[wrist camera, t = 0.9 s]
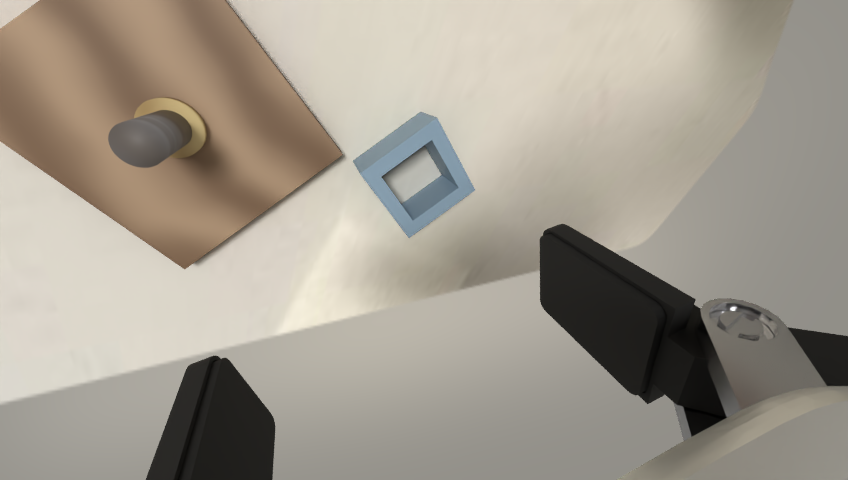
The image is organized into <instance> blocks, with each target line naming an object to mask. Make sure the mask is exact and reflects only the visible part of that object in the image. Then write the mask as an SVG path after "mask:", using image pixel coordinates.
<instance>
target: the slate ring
mask: <svg viewBox="0 0 848 480" xmlns="http://www.w3.org/2000/svg"><path fill="white" fill-rule="evenodd" d="M424 145H425V147H426V149H427V150H428V152H429V154H430V155H431V157H432V159H433V161H434V162H435V164H436V166H437V167H438V169H439V171H440V173H441V174H442V175H441V176H440V177H439V178H437V179H436V180H434V181H433V182H432V183H430V184H429V185H428V186H426V187H425V188H423V189H422V190H421V191H419V192H418V193H416V194H415V195H414V196H412V197H411V198H410V199H408V200H407V201H405V202H404V203H403V204H400V202H399V201H398V199H397V198H396V197H395V195H394V194H393V192H392V191H391V190H390V188H389V187H388V185H387V184H386V183H385V181H384V180H383V178H382V177H381V176H383V175H384V174H385V173H387V172H388V171H390V170H391V169H392V168H394V167H395V166H396V165H398V164H399V163H401V162H402V161H403V160H405V159H406V158H408V157H409V156H410V155H412V154H413V153H414V152H416V151H417V150H419V149H420V148H421V147H423V146H424ZM353 162H354V164H355V166H356V167H357V169H358V171H359V173H360V174H361V176H362V177H363V178H364V179H365V181H366V182H367V183H368V185H369V186H370V187H371V189H372V190H373V191H374V193H375V194H376V195H377V197H378V198H379V199H380V201H381V202H382V203H383V204H384V206H385V207H386V208H387V210H388V211H389V212H390V214H391V215H392V216H393V218H394V219H395V220H396V222H397V223H398V224H399V226H400V227H401V228H402V230H403V231H404V232H405V233H406V235H407V236H408V237H409V238H410V237H411V236H412V235H414V234H415V233H417V232H418V231H419V230H421V229H422V228H424V227H425V226H426V225H428V224H429V223H430V222H432V221H433V220H435V219H436V218H437V217H439V216H440V215H441V214H443V213H444V212H446V211H447V210H448V209H450V208H451V207H452V206H454V205H455V204H457V203H458V202H459V201H461V200H462V199H464V198H465V197H466V196H468V195H469V194H470V193H472V192H473V191H475V189H474V187H473V185H472V183H471V181H470V179H469V177H468V176H467V174H466V172H465V170H464V168H463V166H462V164H461V162H460V160H459V158H458V157H457V155H456V153H455V151H454V149H453V147H452V145H451V143H450V141H449V139H448V138H447V136H446V134H445V132H444V130H443V128H442V126H441V124H440V122H439V121H438V119H437V118H436V117H434V116H431V115H428V114H426V113H423V112H420V113H418V114H417V115H416V116H414V117H413V118H411V119H410V120H409V121H407V122H406V123H405V124H403V125H402V126H400V127H399V128H398V129H396V130H395V131H394V132H392V133H391V134H389V135H388V136H387V137H385V138H384V139H382V140H381V141H380V142H378V143H377V144H376V145H374V146H373V147H371V148H370V149H369V150H367V151H366V152H365V153H363V154H362V155H360V156H359V157H358V158H356V159H355V160H353Z"/></svg>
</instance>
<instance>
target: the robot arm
mask: <svg viewBox="0 0 848 480" xmlns="http://www.w3.org/2000/svg"><path fill="white" fill-rule="evenodd" d="M540 302H541V305H542V307H543V308H544V310H545V311H546V312H547V313H548V314H549V315H550V316H551V317H552V318H553V319H554V320H555V321H556V322H557V323H558V324H560V325H561V327H563V328H564V329H565V330H566V331H567V332H568V333H569V334H570V335H571V336H572V337H573V338H574V339H575V340H576V341H577V342H578V343H579V344H580V345H581V346H582V347H583V348H584V349H585V350H586V351H587V352H588V353H589V354H590V355H591V356H592V357H593V358H595V360H597V361H598V362H599V363H600V364H601V365H602V366H603V367H604V368H605V369H606V370H607V371H608V372H609V373H610V374H611V375H612V376H613V377H614V378H615V379H616V380H617V381H618V382H619V383H620V384H621V385H622V386H623V387H624V388H625V389H626V390H627V391H629V392H630V393H631V394H634V395H639V396H640V397H641V398H642V399H643V400H644V401H645V402H646V403H647V404H649V403H651V402H652V401H654V400H656V399H658V398H660V397H662V396H663V395H664V394H665V395H666V396H667V397H669V398H670V399H671V400H672V401H673V402H674V406H675V410H676V413H677V417H678V421H679V425H680V428H681V432H682V436H683V440H684V441H683V442H681V443H680V444H678V445H676V446H674V447H673V448H671V449H669V450H667V451H666V452H664V453H662V454H661V455H659V456H657V457H655V458H654V459H652V460H650V461H648V462H647V463H645V464H643V465H641V466H640V467H638V468H636V469H634V470H633V471H631V472H629V473H627V474H626V475H624V476H622V477H620V478H619V479H617V480H848V336H843V335H836V334H829V333H822V332H815V331H808V330H802V329H794V328H788V327H787V326H786V325H785V324H784V323H783V322H782V321H781V319H780V318H779V317H777V316H776V315H774V314H773V313H771V312H770V311H768V310H766V309H764V308H762V307H760V306H758V305H755V304H752V303H749V302H746V301H742V300H736V299H714V300H710V301H708V302H706V303H705V304H703V306H702V308H701V309H700V308H698V307H697V306H695V305H694V302H695V299H694V298H692V297H691V296H689V295H687V294H685V293H683V292H682V291H680V290H678V289H677V288H675V287H673V286H671V285H670V284H668V283H666V282H665V281H663V280H661V279H659V278H658V277H656V276H654V275H652V274H651V273H649V272H647V271H645V270H644V269H642V268H640V267H639V266H637V265H635V264H633V263H631V262H630V261H628V260H626V259H625V258H623V257H621V256H619V255H618V254H616V253H614V252H613V251H611V250H609V249H607V248H606V247H604V246H602V245H600V244H599V243H597V242H595V241H593V240H592V239H590V238H588V237H587V236H585V235H583V234H581V233H580V232H578V231H576V230H574V229H573V228H571V227H569V226H568V225H565V224H560V225H557V226H554V227H552V228H549V229H547V230H545V231H544V233H543V236H542V237H541V238H540ZM274 440H275V422H274V418H273V416H272V415H271V413H270V412H269V410H268V409H267V408H266V407H265V405H264V404H263V403H262V402H261V400H260V399H259V398H258V396H257V395H256V394H255V393H254V391H253V390H252V389H251V387H250V386H249V385H248V384H247V382H246V381H245V380H244V379H243V377H242V376H241V375H240V373H239V372H238V371H237V370H236V368H235V367H234V366H233V364H232V363H231V362H230V361H229V360H228V359H227V358H222V359H220V358H219V357H218V356H212V357H209V358H206V359H204V360H201V361H199V362H196V363H193V364H191V365H189V366H188V367H187V369H186V372H185V374H184V377H183V380H182V382H181V385H180V388H179V391H178V393H177V396H176V399H175V402H174V404H173V407H172V410H171V412H170V415H169V418H168V421H167V424H166V426H165V429H164V431H163V435H162V437H161V440H160V442H159V445H158V448H157V450H156V453H155V456H154V459H153V462H152V464H151V467H150V470H149V472H148V475H147V478H146V480H272V474H273V458H274Z"/></svg>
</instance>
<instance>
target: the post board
mask: <svg viewBox="0 0 848 480" xmlns="http://www.w3.org/2000/svg"><path fill="white" fill-rule="evenodd" d="M0 141H1V142H2V143H4V144H5V145H6V146H8V147H9V148H11V149H12V150H14V151H15V152H17V153H18V154H19V155H21V156H22V157H24V158H25V159H27V160H28V161H29V162H31V163H32V164H34V165H35V166H37V167H38V168H40V169H41V170H42V171H44V172H45V173H47V174H48V175H50V176H51V177H53V178H54V179H55V180H57V181H58V182H60V183H61V184H63V185H64V186H65V187H67V188H68V189H70V190H71V191H73V192H74V193H76V194H77V195H78V196H80V197H81V198H83V199H84V200H86V201H87V202H89V203H90V204H91V205H93V206H94V207H96V208H97V209H99V210H100V211H101V212H103V213H104V214H106V215H107V216H109V217H110V218H112V219H113V220H114V221H116V222H117V223H119V224H120V225H122V226H123V227H125V228H126V229H127V230H129V231H130V232H132V233H133V234H135V235H136V236H137V237H139V238H140V239H142V240H143V241H145V242H146V243H148V244H149V245H150V246H152V247H153V248H155V249H156V250H158V251H159V252H161V253H162V254H163V255H165V256H166V257H168V258H169V259H171V260H172V261H173V262H175V263H176V264H178V265H179V266H181V267H182V268H184V269H186V268H187V267H189V266H190V265H191V264H193V263H194V262H195V261H197V260H198V259H200V258H201V257H202V256H204V255H205V254H207V253H208V252H209V251H211V250H212V249H213V248H215V247H216V246H218V245H219V244H220V243H222V242H223V241H224V240H226V239H227V238H229V237H230V236H231V235H233V234H234V233H236V232H237V231H238V230H240V229H241V228H242V227H244V226H245V225H247V224H248V223H249V222H251V221H252V220H253V219H255V218H256V217H258V216H259V215H260V214H262V213H263V212H264V211H266V210H267V209H269V208H270V207H271V206H273V205H274V204H276V203H277V202H278V201H280V200H281V199H282V198H284V197H285V196H287V195H288V194H289V193H291V192H292V191H293V190H295V189H296V188H298V187H299V186H300V185H302V184H303V183H305V182H306V181H307V180H309V179H310V178H311V177H313V176H314V175H316V174H317V173H318V172H320V171H321V170H322V169H324V168H325V167H327V166H328V165H329V164H331V163H332V162H333V161H335V160H336V159H338V158H339V157H340V156H342V155H343V154H342V152H341V151H340V149H339V148H338V147H337V145H336V144H335V143H334V141H333V140H332V139H331V137H330V136H329V135H328V134H327V132H326V131H325V130H324V128H323V127H322V126H321V124H320V123H319V122H318V120H317V119H316V118H315V116H314V115H313V114H312V113H311V111H310V110H309V109H308V107H307V106H306V105H305V103H304V102H303V101H302V99H301V98H300V97H299V96H298V94H297V93H296V92H295V90H294V89H293V88H292V86H291V85H290V84H289V82H288V81H287V80H286V78H285V77H284V76H283V75H282V73H281V72H280V71H279V69H278V68H277V67H276V65H275V64H274V63H273V61H272V60H271V59H270V58H269V56H268V55H267V54H266V52H265V51H264V50H263V48H262V47H261V46H260V44H259V43H258V42H257V40H256V39H255V38H254V37H253V35H252V34H251V33H250V31H249V30H248V29H247V27H246V26H245V25H244V23H243V22H242V21H241V20H240V18H239V17H238V16H237V14H236V13H235V12H234V10H233V9H232V8H231V6H230V5H229V4H228V2H227V1H226V0H40V1H38V2H37V3H35V4H34V5H33V6H31V7H30V8H28V9H27V10H26V11H24V12H23V13H22V14H20V15H19V16H17V17H16V18H15V19H13V20H12V21H11V22H9V23H8V24H6V25H5V26H4V27H2V28H1V29H0Z"/></svg>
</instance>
